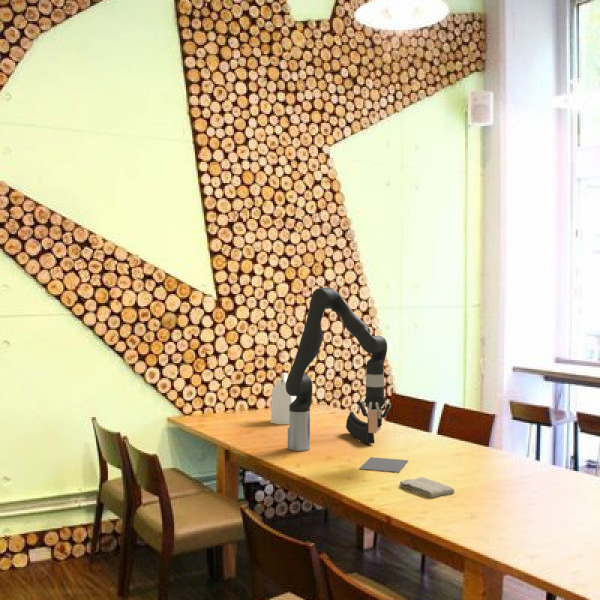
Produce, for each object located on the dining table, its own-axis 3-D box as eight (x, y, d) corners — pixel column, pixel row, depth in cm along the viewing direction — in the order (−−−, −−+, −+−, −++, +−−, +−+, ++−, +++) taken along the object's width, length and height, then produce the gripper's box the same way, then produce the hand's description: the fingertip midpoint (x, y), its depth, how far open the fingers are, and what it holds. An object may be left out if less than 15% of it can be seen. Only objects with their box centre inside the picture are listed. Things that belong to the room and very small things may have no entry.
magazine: (376, 427, 333) (355, 398, 360) (369, 427, 332) (348, 398, 359) (372, 460, 338) (351, 429, 365) (365, 461, 337) (345, 430, 364)
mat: (359, 469, 292) (359, 468, 292) (370, 458, 311) (370, 457, 311) (398, 472, 287) (398, 471, 287) (408, 461, 306) (408, 460, 306)
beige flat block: (368, 432, 296) (368, 410, 296) (373, 428, 305) (373, 406, 305) (375, 433, 295) (376, 410, 295) (380, 429, 304) (380, 407, 304)
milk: (291, 424, 384) (291, 375, 384) (270, 423, 387) (271, 374, 387) (298, 420, 396) (298, 372, 395) (277, 419, 399) (278, 371, 398)
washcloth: (420, 482, 274) (421, 474, 274) (456, 494, 259) (456, 485, 259) (396, 487, 268) (396, 479, 268) (431, 500, 253) (431, 491, 253)
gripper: (356, 385, 298) (355, 427, 299) (390, 387, 294) (389, 430, 294) (360, 383, 305) (360, 424, 306) (393, 384, 301) (393, 426, 301)
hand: (374, 426), depth 300 cm, fingers closed on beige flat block, 3 cm apart
